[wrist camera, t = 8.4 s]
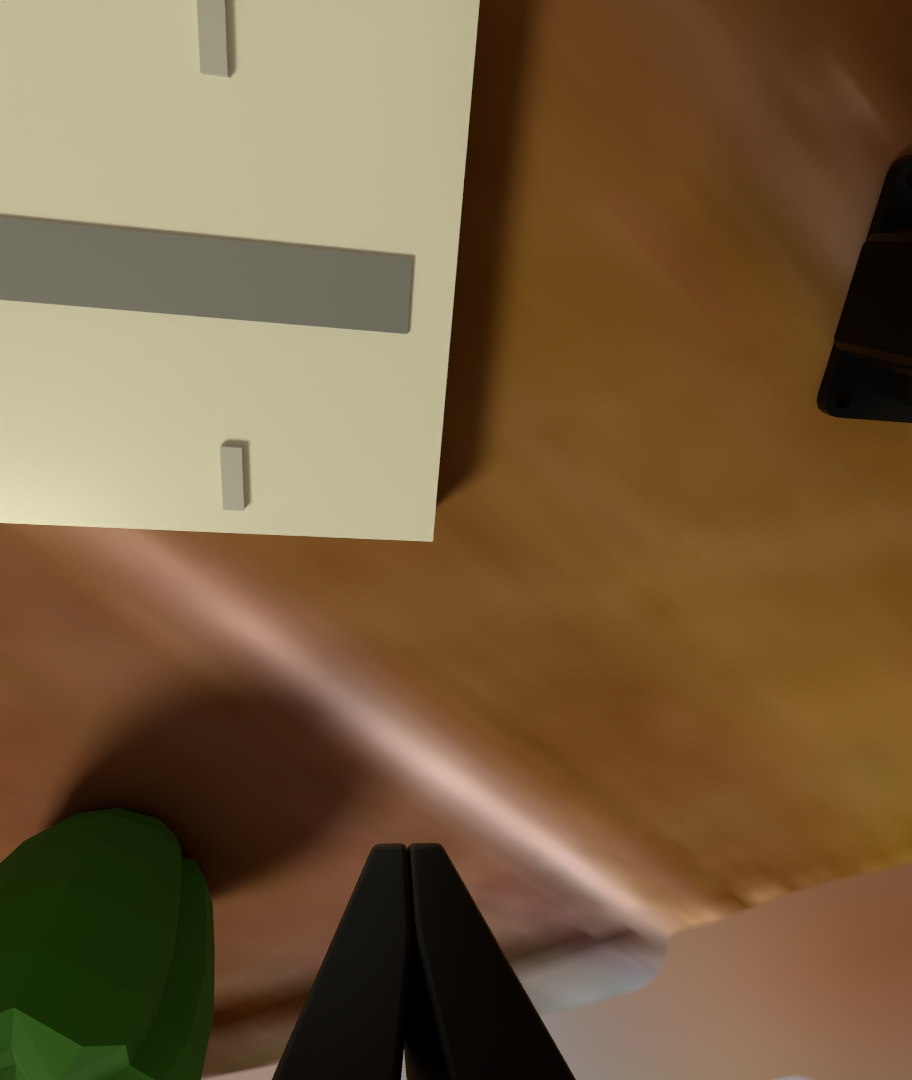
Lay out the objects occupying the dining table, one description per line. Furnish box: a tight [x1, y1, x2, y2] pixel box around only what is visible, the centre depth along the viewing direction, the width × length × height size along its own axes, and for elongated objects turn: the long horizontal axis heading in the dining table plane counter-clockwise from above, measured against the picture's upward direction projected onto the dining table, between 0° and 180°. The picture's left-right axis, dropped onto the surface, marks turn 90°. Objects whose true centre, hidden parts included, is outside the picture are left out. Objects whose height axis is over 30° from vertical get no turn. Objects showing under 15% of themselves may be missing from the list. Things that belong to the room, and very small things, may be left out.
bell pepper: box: [0, 808, 215, 1080], centre depth 19 cm, size 8×8×10 cm
